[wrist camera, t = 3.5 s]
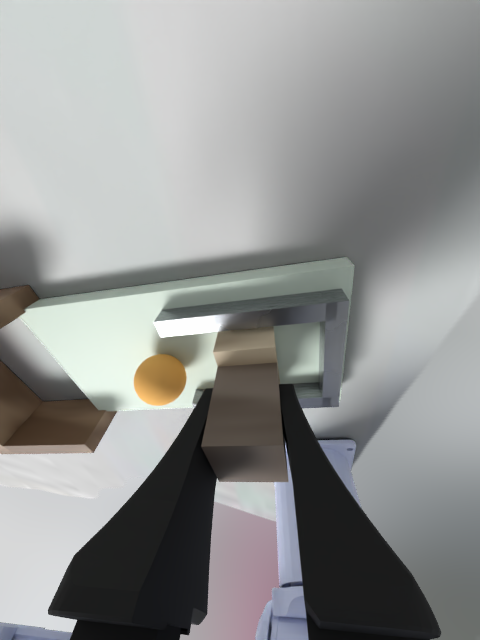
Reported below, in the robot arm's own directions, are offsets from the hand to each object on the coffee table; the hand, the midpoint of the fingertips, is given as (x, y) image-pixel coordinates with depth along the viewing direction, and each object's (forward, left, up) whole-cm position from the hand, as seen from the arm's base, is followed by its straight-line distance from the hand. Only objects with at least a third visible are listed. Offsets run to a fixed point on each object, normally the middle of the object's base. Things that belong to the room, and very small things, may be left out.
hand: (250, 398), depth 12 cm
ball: (0, +6, -2) cm, 6 cm away
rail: (0, 0, -3) cm, 3 cm away
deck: (0, +4, -4) cm, 6 cm away
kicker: (0, 0, -3) cm, 3 cm away
